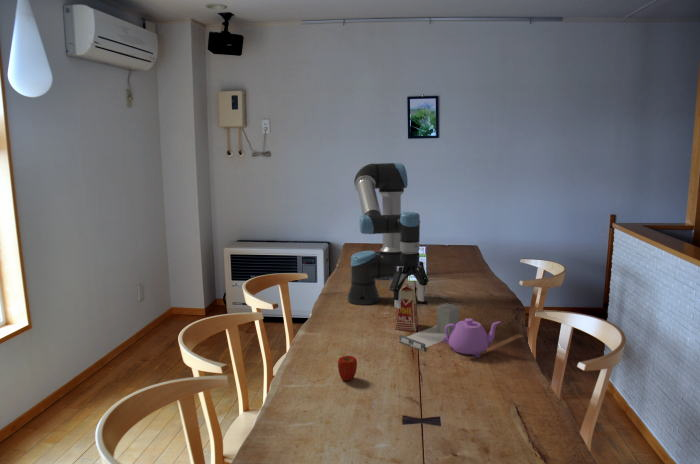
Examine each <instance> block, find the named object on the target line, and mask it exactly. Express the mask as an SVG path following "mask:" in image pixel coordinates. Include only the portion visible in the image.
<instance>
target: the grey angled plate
mask: <svg viewBox="0 0 700 464" xmlns="http://www.w3.org/2000/svg"><path fill="white" fill-rule="evenodd" d="M436 329H437V325H435V326H432V327H429V328H427V329H424V330H421V331H418V332H416V333H413V334H411V335H408V336H405V335H399V339H398V340H399V343H400V344H403V345H405V346H408V347H410V348H413V349H416V350H419V351H421V352H426V351H427V349H426V348H428V347H431V346H433V345H435V344H438V343H441V342H443V338H444V337H445V336H446V334H443V333H440V332H437V331H436ZM449 336H450V335H449ZM446 337H447V336H446ZM445 340H446V341H447V338H445Z"/></svg>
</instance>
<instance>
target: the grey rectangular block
mask: <svg viewBox="0 0 700 464" xmlns="http://www.w3.org/2000/svg"><path fill="white" fill-rule="evenodd" d="M459 311H460V306H459V305H455V304H452V303H451V304H450V303H447V302H446V303H442V304H439V305H437V306H436V326H437V329H436V331H437V332H440V333H443V334H446V332H445V327H446V326H447V325H448V324H455V325H456V324H457V323H458V322H459V317H460V316H459V314H460V312H459ZM453 328H454V327H453V326H450V327H448V334H449V335H450V333H451V331H452V329H453Z"/></svg>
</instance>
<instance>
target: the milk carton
mask: <svg viewBox="0 0 700 464" xmlns="http://www.w3.org/2000/svg"><path fill="white" fill-rule="evenodd" d="M399 292H401V308H400V309H399V308H396V313H395V314H396V315H395V322H394V329H393V330H397V331H405V332H406V331H407V332H417V330H418V328H419V315H418V314H419V313H418V307H417V300H416V292H415V289H414V288H412V287H411V286H410V285H409V284H408V282H406V283H405V286H402V287H401V289H400V291H399Z"/></svg>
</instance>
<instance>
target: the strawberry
mask: <svg viewBox="0 0 700 464" xmlns="http://www.w3.org/2000/svg"><path fill="white" fill-rule="evenodd" d="M357 368H358V362H357V359H356V357H355V356H352V355H345V356H344V355H343V356H341V357H339V358H338V360H337V369H338V374H339V377H340V379H341V380H342V381H343V382H344V381H345V382H346V381H352V380H353V379H354V377H355V375H356V373H357Z"/></svg>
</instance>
